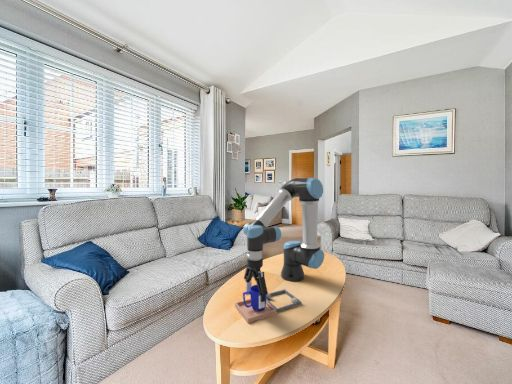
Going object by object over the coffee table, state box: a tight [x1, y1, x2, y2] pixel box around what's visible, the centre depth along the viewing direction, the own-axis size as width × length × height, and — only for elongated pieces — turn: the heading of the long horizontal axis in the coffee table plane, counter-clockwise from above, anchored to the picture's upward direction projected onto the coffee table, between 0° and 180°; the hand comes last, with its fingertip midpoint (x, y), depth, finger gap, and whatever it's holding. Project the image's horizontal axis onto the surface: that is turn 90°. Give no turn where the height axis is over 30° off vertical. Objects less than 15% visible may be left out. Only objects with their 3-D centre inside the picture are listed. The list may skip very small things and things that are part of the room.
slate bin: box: [266, 288, 302, 313], centre depth 121 cm, size 15×15×1 cm
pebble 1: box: [266, 292, 272, 300], centre depth 123 cm, size 3×3×3 cm
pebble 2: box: [291, 297, 298, 304], centre depth 118 cm, size 3×3×3 cm
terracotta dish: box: [234, 297, 277, 324], centre depth 112 cm, size 15×15×2 cm
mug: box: [242, 284, 266, 311], centre depth 112 cm, size 8×12×10 cm
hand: (254, 300), depth 112 cm, fingers open, 13 cm apart
